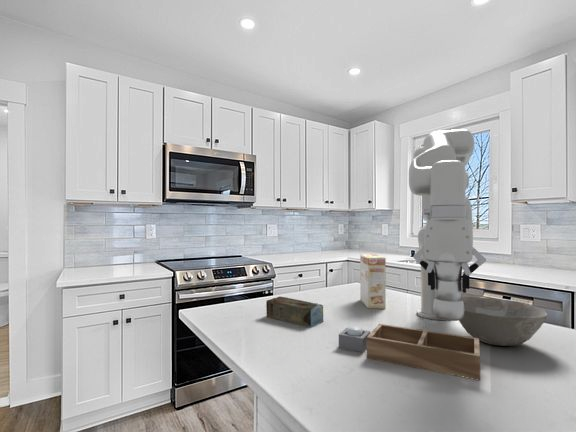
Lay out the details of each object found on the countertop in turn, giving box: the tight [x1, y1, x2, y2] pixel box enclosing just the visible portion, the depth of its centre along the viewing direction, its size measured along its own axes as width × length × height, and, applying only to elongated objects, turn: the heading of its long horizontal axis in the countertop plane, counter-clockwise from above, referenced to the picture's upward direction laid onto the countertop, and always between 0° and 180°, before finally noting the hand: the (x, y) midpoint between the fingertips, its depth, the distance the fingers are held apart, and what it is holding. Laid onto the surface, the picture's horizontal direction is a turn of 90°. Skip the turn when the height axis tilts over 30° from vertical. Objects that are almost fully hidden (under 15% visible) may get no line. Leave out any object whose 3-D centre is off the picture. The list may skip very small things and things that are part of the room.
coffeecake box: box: [359, 253, 387, 310], centre depth 136 cm, size 15×7×20 cm, turn 179°
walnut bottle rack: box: [366, 323, 481, 381], centre depth 82 cm, size 12×24×5 cm, turn 61°
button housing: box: [338, 327, 371, 353], centre depth 90 cm, size 7×7×4 cm
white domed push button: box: [346, 325, 363, 337], centre depth 90 cm, size 4×4×2 cm
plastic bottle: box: [433, 252, 465, 322], centre depth 79 cm, size 6×7×20 cm
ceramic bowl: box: [459, 296, 548, 347], centre depth 93 cm, size 22×23×10 cm
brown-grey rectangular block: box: [265, 295, 324, 328], centre depth 114 cm, size 8×19×7 cm, turn 52°
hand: (448, 289), depth 79 cm, fingers closed on plastic bottle, 6 cm apart
